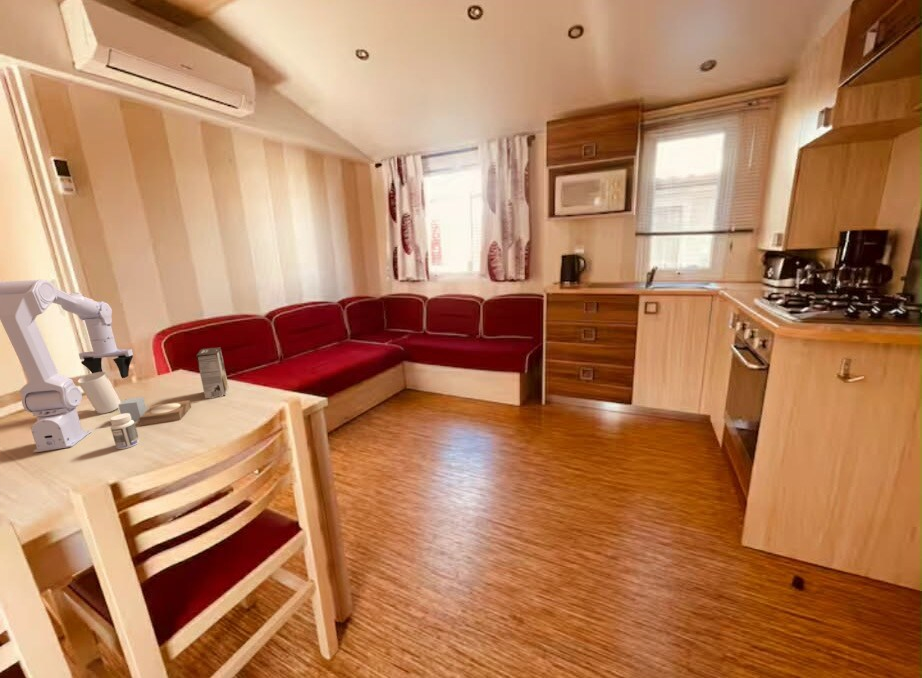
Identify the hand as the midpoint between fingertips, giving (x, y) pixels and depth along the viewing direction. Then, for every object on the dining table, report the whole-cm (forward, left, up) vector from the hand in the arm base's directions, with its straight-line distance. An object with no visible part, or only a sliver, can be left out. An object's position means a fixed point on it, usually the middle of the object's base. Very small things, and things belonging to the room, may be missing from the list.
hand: (112, 378), depth 124 cm
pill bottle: (-35, -16, -10) cm, 40 cm away
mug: (-2, +2, -9) cm, 10 cm away
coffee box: (-1, -29, -10) cm, 31 cm away
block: (-15, -10, -10) cm, 21 cm away
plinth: (-17, -19, -10) cm, 27 cm away
